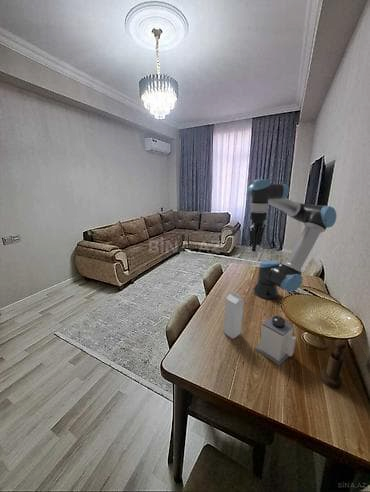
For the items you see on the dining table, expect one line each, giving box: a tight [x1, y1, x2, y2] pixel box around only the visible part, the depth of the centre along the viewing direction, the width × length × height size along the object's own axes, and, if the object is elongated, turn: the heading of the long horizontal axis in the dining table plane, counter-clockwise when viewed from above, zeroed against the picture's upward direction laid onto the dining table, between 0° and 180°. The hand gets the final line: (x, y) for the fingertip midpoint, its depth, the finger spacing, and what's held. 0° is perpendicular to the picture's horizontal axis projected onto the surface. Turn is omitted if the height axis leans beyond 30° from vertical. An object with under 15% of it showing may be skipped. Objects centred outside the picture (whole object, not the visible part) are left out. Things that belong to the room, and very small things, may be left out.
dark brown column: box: [320, 338, 346, 390], centre depth 76 cm, size 7×6×18 cm
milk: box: [222, 290, 245, 340], centre depth 100 cm, size 6×6×22 cm
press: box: [255, 315, 297, 367], centre depth 89 cm, size 11×13×14 cm
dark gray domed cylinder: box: [271, 315, 286, 328], centre depth 89 cm, size 6×6×14 cm
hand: (254, 256), depth 110 cm, fingers closed
